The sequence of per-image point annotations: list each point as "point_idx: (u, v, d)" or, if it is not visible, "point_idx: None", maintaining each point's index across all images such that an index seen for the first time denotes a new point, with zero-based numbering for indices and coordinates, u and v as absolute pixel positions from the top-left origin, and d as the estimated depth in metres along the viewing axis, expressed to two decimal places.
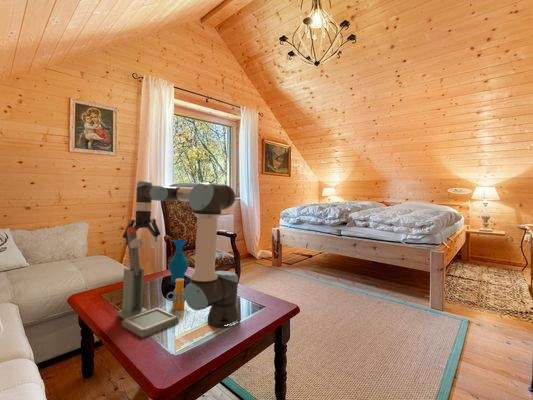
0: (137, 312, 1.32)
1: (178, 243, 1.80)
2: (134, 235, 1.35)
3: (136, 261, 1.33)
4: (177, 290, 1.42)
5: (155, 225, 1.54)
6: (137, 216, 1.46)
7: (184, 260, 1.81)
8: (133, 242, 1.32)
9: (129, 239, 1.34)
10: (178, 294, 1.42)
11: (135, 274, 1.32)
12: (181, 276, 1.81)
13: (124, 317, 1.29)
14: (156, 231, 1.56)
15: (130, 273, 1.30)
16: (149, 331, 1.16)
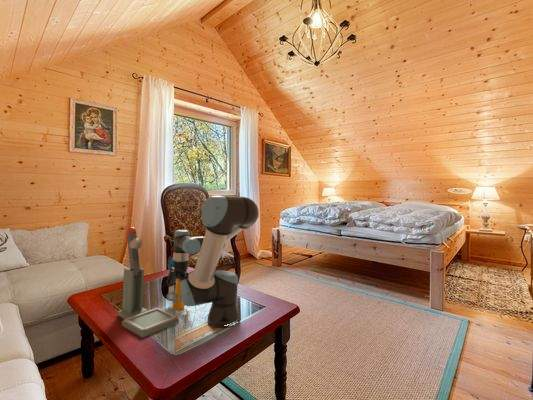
0: (137, 312, 1.32)
1: None
2: (134, 235, 1.35)
3: (136, 261, 1.33)
4: (177, 290, 1.42)
5: None
6: None
7: None
8: (133, 242, 1.32)
9: (129, 239, 1.34)
10: (178, 294, 1.42)
11: (135, 274, 1.32)
12: None
13: (124, 317, 1.29)
14: None
15: (130, 273, 1.30)
16: (149, 331, 1.16)
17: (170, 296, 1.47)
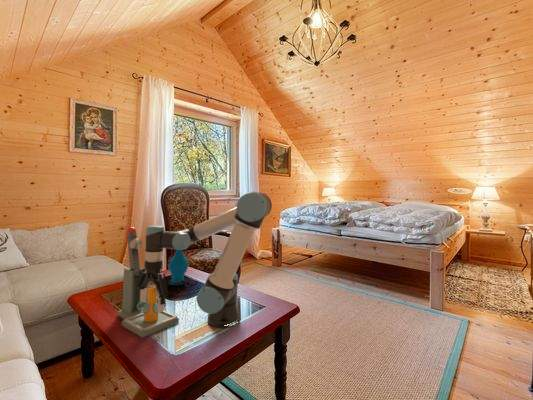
0: (137, 312, 1.32)
1: None
2: (134, 235, 1.35)
3: (136, 261, 1.33)
4: (149, 299, 1.23)
5: (159, 282, 1.21)
6: None
7: (184, 260, 1.81)
8: (133, 242, 1.32)
9: (129, 239, 1.34)
10: (150, 304, 1.23)
11: (135, 274, 1.32)
12: (181, 276, 1.81)
13: (124, 317, 1.29)
14: None
15: (130, 273, 1.30)
16: (149, 331, 1.16)
17: (141, 300, 1.28)
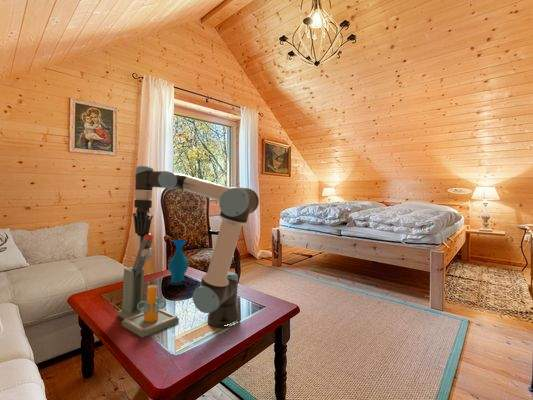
0: (137, 312, 1.32)
1: (178, 243, 1.80)
2: (149, 243, 1.28)
3: (140, 266, 1.31)
4: (149, 299, 1.24)
5: (145, 222, 1.28)
6: None
7: (184, 260, 1.81)
8: (145, 254, 1.26)
9: (143, 245, 1.28)
10: (150, 303, 1.24)
11: (135, 276, 1.32)
12: (181, 276, 1.81)
13: (124, 317, 1.29)
14: None
15: (130, 273, 1.30)
16: (149, 331, 1.16)
17: None
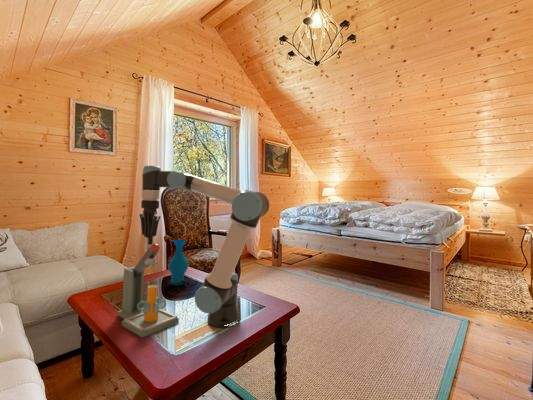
0: (137, 312, 1.32)
1: (178, 243, 1.80)
2: (154, 254, 1.26)
3: (142, 269, 1.31)
4: (149, 299, 1.24)
5: (152, 223, 1.24)
6: None
7: (184, 260, 1.81)
8: (148, 263, 1.24)
9: (148, 254, 1.25)
10: (150, 303, 1.24)
11: (134, 277, 1.32)
12: (181, 276, 1.81)
13: (124, 317, 1.29)
14: None
15: (130, 273, 1.30)
16: (149, 331, 1.16)
17: None
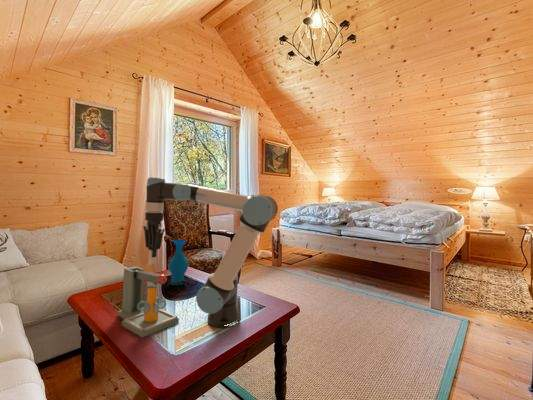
0: (137, 312, 1.32)
1: (178, 243, 1.80)
2: None
3: None
4: (149, 299, 1.24)
5: (156, 236, 1.22)
6: None
7: (184, 260, 1.81)
8: None
9: (153, 279, 1.23)
10: (150, 303, 1.24)
11: None
12: (181, 276, 1.81)
13: (124, 317, 1.29)
14: None
15: (130, 273, 1.30)
16: (149, 331, 1.16)
17: None
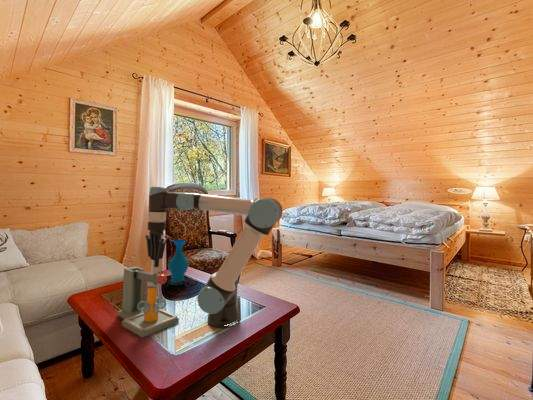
0: (137, 312, 1.32)
1: (178, 243, 1.80)
2: None
3: None
4: (149, 299, 1.24)
5: (159, 245, 1.21)
6: None
7: (184, 260, 1.81)
8: None
9: (153, 279, 1.23)
10: (150, 303, 1.24)
11: None
12: (181, 276, 1.81)
13: (124, 317, 1.29)
14: None
15: (130, 273, 1.30)
16: (149, 331, 1.16)
17: None
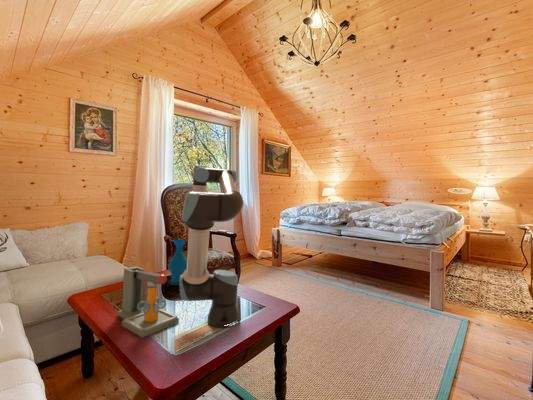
0: (137, 312, 1.32)
1: (178, 243, 1.80)
2: None
3: None
4: (149, 299, 1.24)
5: None
6: None
7: (184, 260, 1.81)
8: None
9: (153, 279, 1.23)
10: (150, 303, 1.24)
11: None
12: None
13: (124, 317, 1.29)
14: None
15: (130, 273, 1.30)
16: (149, 331, 1.16)
17: None
